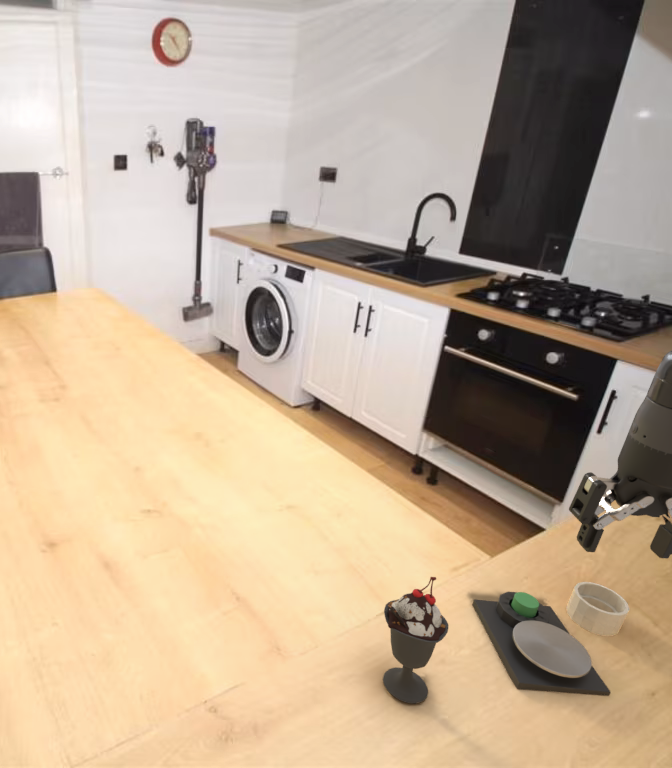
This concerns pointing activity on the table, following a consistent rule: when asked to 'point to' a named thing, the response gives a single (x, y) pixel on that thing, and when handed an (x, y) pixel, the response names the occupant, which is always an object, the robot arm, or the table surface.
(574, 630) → the table surface
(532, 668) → the scale
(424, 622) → the sundae
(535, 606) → the tare button
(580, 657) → the scale pan
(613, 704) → the table surface
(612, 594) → the bowl
